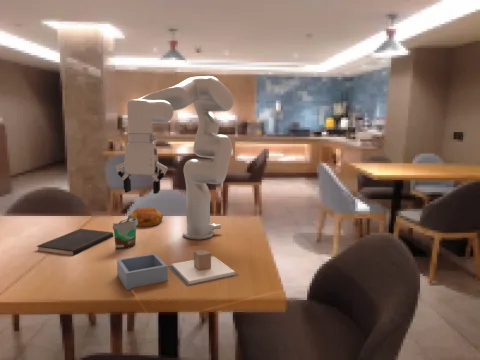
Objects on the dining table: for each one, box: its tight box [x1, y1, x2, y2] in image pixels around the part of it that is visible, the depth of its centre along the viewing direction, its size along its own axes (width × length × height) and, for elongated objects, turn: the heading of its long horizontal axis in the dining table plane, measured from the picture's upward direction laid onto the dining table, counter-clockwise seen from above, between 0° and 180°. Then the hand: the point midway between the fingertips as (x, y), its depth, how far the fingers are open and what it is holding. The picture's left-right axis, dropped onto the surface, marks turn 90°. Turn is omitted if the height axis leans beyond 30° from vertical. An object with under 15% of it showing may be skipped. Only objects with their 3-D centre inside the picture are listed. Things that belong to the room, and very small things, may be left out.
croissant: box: [128, 207, 164, 227], centre depth 176 cm, size 14×16×8 cm
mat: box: [167, 265, 240, 287], centre depth 121 cm, size 17×17×1 cm
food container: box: [112, 215, 138, 250], centre depth 145 cm, size 12×6×10 cm, turn 168°
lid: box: [171, 249, 235, 284], centre depth 121 cm, size 15×15×6 cm
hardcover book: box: [36, 228, 114, 256], centre depth 148 cm, size 16×23×2 cm
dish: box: [116, 252, 169, 291], centre depth 116 cm, size 12×12×5 cm
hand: (142, 192), depth 124 cm, fingers open, 9 cm apart
